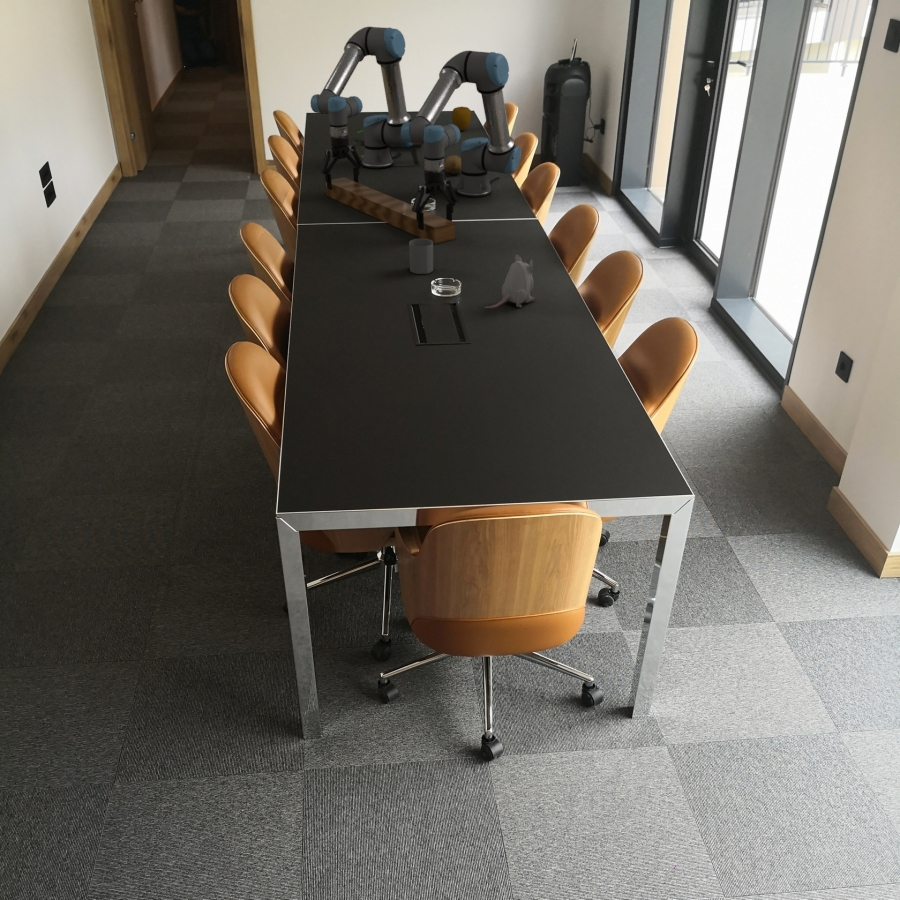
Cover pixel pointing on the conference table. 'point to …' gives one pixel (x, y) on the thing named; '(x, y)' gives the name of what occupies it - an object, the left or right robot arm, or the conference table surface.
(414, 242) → the cup
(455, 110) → the yellow bell pepper
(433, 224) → the wide beam
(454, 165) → the potato
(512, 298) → the toy
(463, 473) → the conference table surface
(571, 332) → the conference table surface
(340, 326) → the conference table surface
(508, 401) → the conference table surface
